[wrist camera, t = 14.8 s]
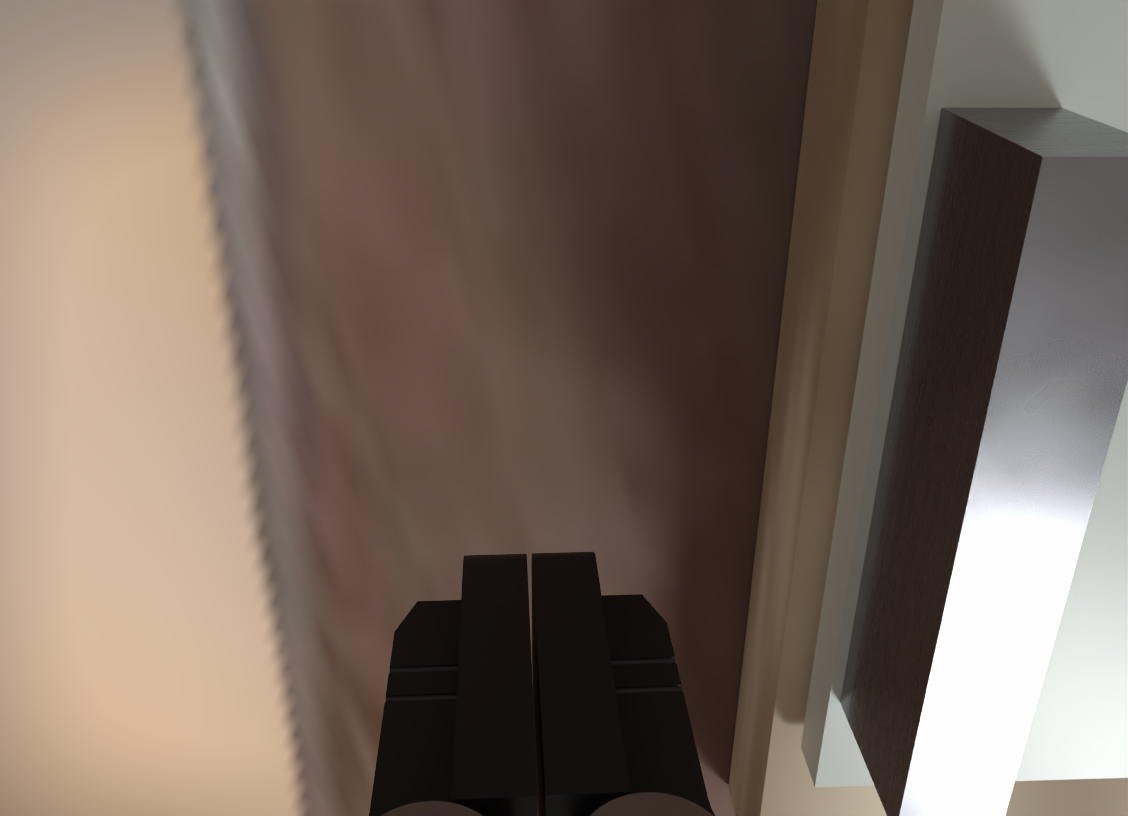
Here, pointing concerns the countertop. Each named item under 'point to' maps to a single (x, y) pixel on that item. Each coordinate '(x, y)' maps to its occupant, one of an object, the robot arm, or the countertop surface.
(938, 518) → the cover
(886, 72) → the board
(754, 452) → the countertop surface
